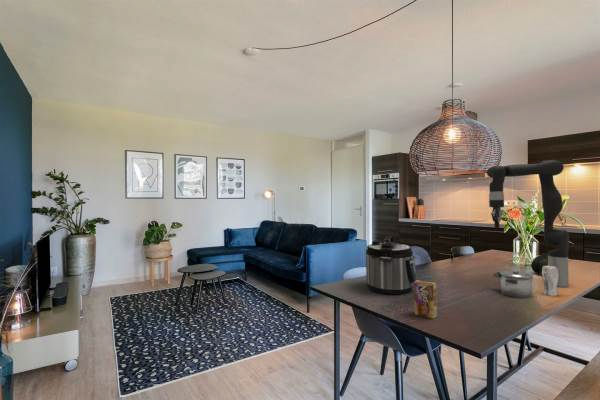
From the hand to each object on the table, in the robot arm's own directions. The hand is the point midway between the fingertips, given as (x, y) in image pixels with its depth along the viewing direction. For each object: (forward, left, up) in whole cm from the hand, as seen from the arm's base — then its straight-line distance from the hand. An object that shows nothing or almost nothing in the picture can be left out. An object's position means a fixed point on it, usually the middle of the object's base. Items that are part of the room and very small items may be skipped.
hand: (497, 228), depth 183 cm
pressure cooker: (+48, -43, -35) cm, 73 cm away
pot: (+9, +9, -35) cm, 37 cm away
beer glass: (-2, +24, -35) cm, 43 cm away
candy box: (+74, -9, -35) cm, 82 cm away
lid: (+9, +11, -25) cm, 28 cm away
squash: (-54, +13, -35) cm, 66 cm away
